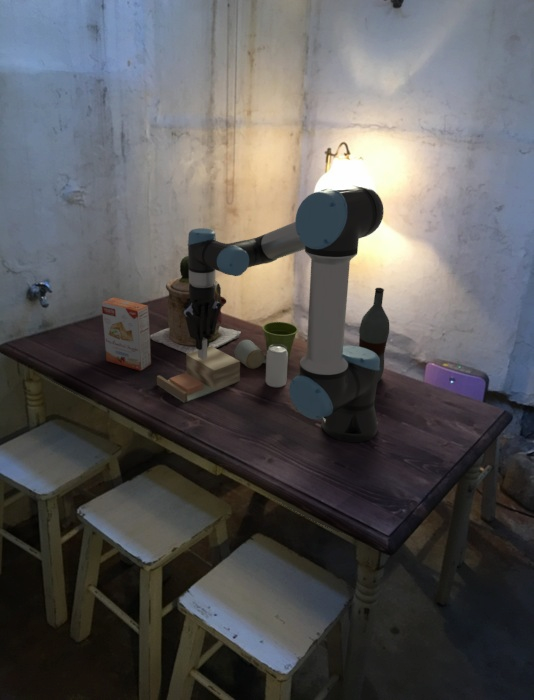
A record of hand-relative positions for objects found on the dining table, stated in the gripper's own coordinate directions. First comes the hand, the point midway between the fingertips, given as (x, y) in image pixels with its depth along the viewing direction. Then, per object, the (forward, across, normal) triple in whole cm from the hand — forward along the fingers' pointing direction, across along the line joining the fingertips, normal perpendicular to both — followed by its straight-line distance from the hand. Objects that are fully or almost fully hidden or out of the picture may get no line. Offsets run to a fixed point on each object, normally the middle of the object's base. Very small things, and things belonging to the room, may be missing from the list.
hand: (202, 357), depth 173 cm
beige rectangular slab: (+8, -4, 0) cm, 9 cm away
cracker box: (+8, +11, -25) cm, 29 cm away
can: (+8, -17, +15) cm, 24 cm away
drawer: (+8, +6, 0) cm, 10 cm away
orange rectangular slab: (+6, +6, 0) cm, 8 cm away
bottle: (+8, -43, +31) cm, 54 cm away
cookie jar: (+9, -18, -28) cm, 34 cm away
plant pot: (+8, -30, +3) cm, 31 cm away
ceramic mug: (+9, -21, 0) cm, 22 cm away
